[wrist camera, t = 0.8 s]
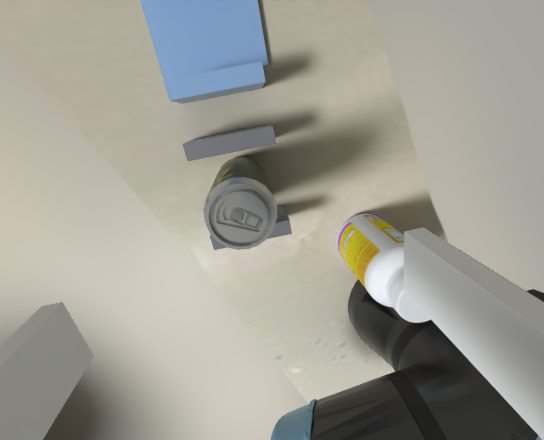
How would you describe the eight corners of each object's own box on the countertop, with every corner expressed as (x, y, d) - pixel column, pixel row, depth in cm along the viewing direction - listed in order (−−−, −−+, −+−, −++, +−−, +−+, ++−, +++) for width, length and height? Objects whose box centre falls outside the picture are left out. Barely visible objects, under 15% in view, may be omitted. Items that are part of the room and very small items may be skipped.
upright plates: (284, 216, 32) (291, 233, 27) (218, 230, 32) (214, 249, 27) (237, -46, 23) (236, -88, 18) (145, -29, 23) (119, -67, 18)
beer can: (273, 168, 30) (291, 198, 19) (254, 210, 31) (260, 261, 20) (227, 148, 29) (218, 166, 17) (210, 193, 30) (190, 237, 19)
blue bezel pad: (268, 65, 26) (268, 64, 26) (166, 85, 26) (165, 84, 26) (253, -22, 24) (253, -24, 23) (141, -1, 23) (139, -3, 23)
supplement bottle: (342, 267, 35) (392, 343, 23) (328, 223, 33) (377, 283, 21) (390, 248, 35) (466, 316, 23) (380, 203, 33) (459, 253, 21)
